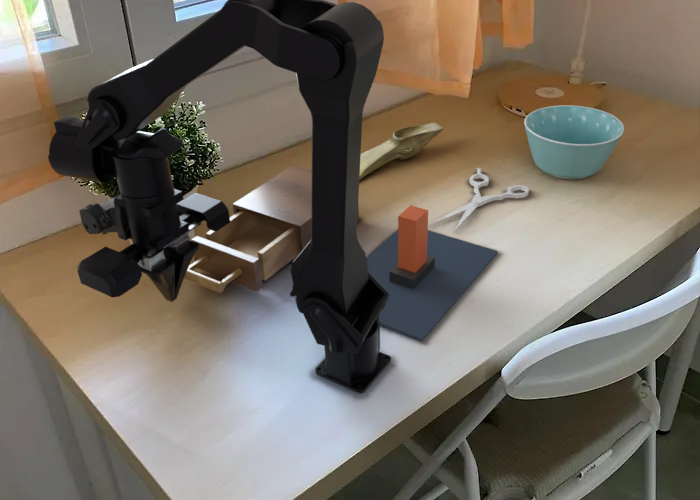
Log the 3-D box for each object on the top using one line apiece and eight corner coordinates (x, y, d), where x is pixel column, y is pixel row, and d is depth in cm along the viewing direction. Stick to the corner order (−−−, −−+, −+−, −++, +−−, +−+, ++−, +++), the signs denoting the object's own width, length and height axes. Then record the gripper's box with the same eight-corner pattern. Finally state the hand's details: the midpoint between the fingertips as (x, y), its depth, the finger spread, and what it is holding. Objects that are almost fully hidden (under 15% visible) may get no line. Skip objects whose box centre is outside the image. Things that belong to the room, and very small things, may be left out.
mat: (422, 341, 83) (422, 338, 83) (319, 301, 90) (319, 299, 90) (497, 253, 98) (497, 250, 98) (404, 225, 106) (404, 223, 105)
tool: (347, 191, 117) (344, 167, 115) (329, 175, 122) (326, 152, 119) (456, 150, 125) (456, 127, 122) (435, 136, 130) (435, 114, 127)
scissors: (536, 184, 113) (472, 237, 100) (535, 188, 114) (472, 241, 101) (478, 167, 119) (411, 215, 106) (478, 171, 119) (411, 220, 106)
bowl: (612, 196, 111) (622, 148, 106) (512, 182, 116) (517, 136, 111) (617, 154, 123) (626, 110, 118) (526, 144, 128) (531, 101, 123)
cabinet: (303, 264, 98) (300, 226, 94) (237, 240, 104) (232, 203, 100) (359, 219, 108) (358, 183, 104) (295, 199, 113) (292, 165, 110)
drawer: (232, 312, 88) (227, 282, 85) (169, 285, 93) (163, 257, 91) (317, 244, 100) (315, 216, 98) (257, 224, 106) (254, 197, 103)
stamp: (413, 289, 91) (414, 227, 86) (389, 281, 93) (389, 219, 88) (434, 267, 95) (437, 206, 90) (411, 259, 97) (412, 199, 92)
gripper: (157, 140, 88) (178, 245, 96) (28, 205, 75) (65, 319, 83) (224, 159, 82) (240, 269, 91) (97, 232, 69) (130, 352, 78)
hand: (171, 299), depth 86 cm, fingers closed
